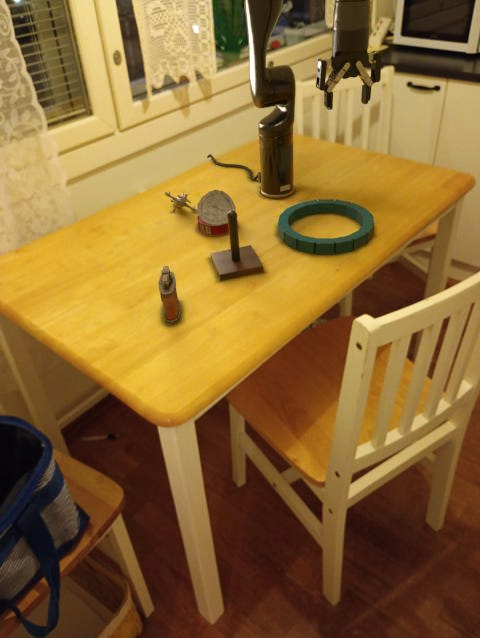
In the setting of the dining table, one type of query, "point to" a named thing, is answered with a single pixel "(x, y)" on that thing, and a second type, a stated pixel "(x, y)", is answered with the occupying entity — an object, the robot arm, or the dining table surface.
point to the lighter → (169, 296)
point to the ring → (326, 244)
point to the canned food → (214, 213)
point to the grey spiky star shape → (180, 201)
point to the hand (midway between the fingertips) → (346, 106)
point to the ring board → (238, 266)
